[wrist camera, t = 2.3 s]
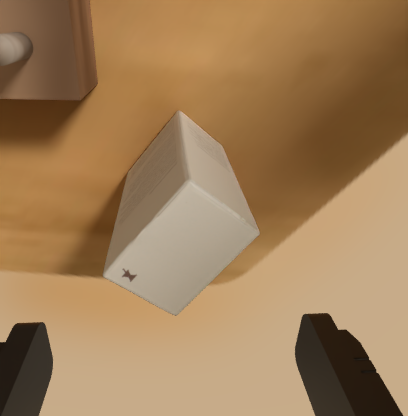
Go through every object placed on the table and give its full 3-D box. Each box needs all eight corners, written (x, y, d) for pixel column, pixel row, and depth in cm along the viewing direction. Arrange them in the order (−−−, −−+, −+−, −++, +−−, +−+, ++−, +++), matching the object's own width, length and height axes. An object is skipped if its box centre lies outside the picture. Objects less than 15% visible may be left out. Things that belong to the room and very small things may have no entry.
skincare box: (173, 204, 28) (174, 321, 17) (126, 171, 26) (96, 278, 16) (226, 144, 26) (264, 235, 15) (179, 105, 24) (185, 176, 14)
